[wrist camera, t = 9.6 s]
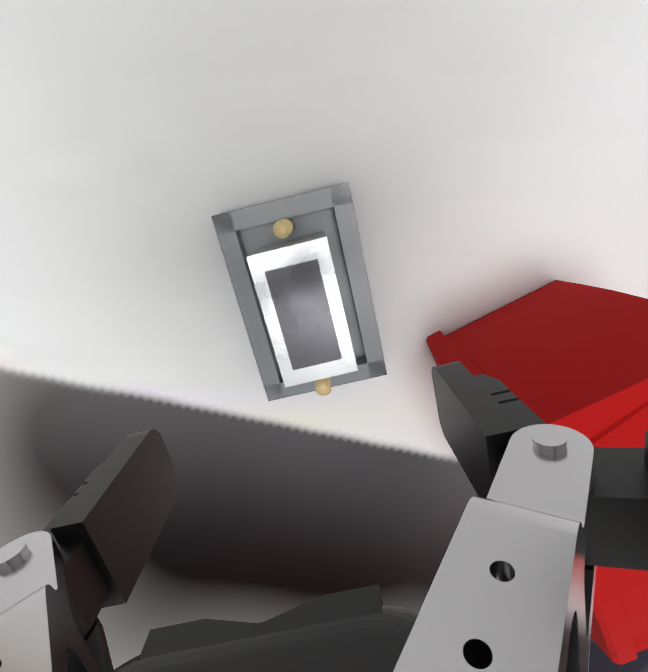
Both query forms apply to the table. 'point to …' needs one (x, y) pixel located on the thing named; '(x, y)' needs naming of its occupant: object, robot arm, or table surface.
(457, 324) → the table surface
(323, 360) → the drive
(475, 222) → the table surface
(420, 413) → the table surface
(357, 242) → the tray
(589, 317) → the fire alarm
